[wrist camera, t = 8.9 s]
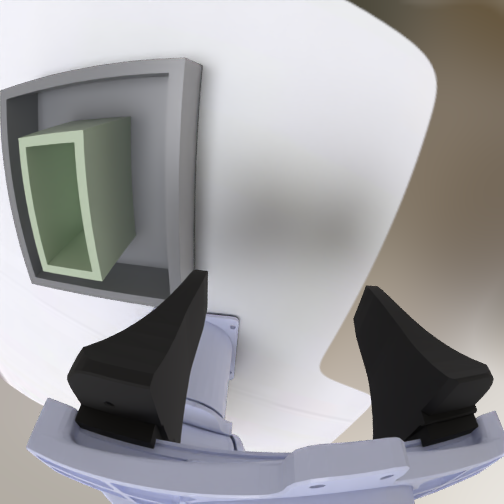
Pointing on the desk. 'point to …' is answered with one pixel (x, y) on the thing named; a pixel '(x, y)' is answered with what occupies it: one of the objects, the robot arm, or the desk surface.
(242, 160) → the desk surface
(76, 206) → the sage crate
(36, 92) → the charcoal crate
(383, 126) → the desk surface
